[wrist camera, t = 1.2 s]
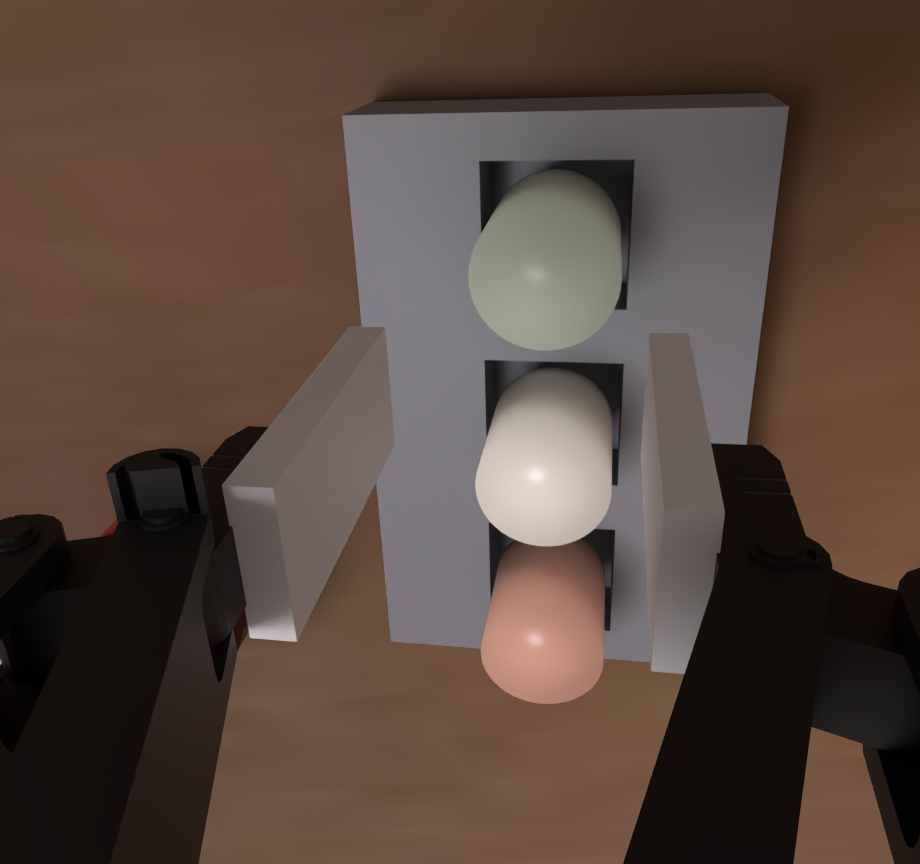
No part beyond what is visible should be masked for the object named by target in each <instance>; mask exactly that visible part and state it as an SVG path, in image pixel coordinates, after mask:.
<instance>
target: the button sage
mask: <svg viewBox="0 0 920 864" xmlns="http://www.w3.org/2000/svg"><path fill="white" fill-rule="evenodd" d="M468 281H469V289H470V293H471V297H472V300H473V303H474V305H475V307H476V309H477V311H478V313H479V315H480V316H481V318H482V319H483V320H484V322H485V323H486V324H487V325H488V326H489V327H490V328H491V329H492V330H493V331H494V332H495V333H496V334H498V335H499V336H500V337H502V338H503V339H505V340H507V341H509V342H511V343H513V344H515V345H517V346H520V347H523V348H527V349H532V350H541V351H550V350H559V349H564V348H567V347H571V346H573V345H576V344H578V343H580V342H582V341H584V340H586V339H587V338H589V337H590V336H592V335H593V334H594V333H596V332H597V331H598V330H599V329H600V328H601V327H602V326H603V325H604V324H605V322H606V321H607V320H608V318H609V317H610V315H611V314H612V312H613V310H614V308H615V306H616V304H617V301H618V298H619V294H620V291H621V283H622V248H621V223H620V218H619V214H618V211H617V209H616V206H615V204H614V202H613V201H612V199H611V197H610V196H609V195H608V193H607V192H606V191H605V190H604V189H603V188H602V187H601V186H600V185H599V184H598V183H597V182H595V181H594V180H592V179H591V178H589V177H587V176H585V175H583V174H581V173H578V172H575V171H571V170H566V169H547V170H542V171H538V172H535V173H532V174H530V175H528V176H526V177H524V178H522V179H521V180H519V181H518V182H516V183H515V184H514V185H513V186H512V187H511V188H510V189H509V190H508V191H507V192H506V193H505V194H504V196H503V197H502V199H501V200H500V202H499V203H498V205H497V207H496V209H495V210H494V212H493V214H492V216H491V217H490V219H489V221H488V223H487V224H486V226H485V228H484V230H483V231H482V233H481V235H480V237H479V238H478V240H477V242H476V244H475V246H474V249H473V251H472V255H471V258H470V263H469V270H468Z"/></svg>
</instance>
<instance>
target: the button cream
mask: <svg viewBox="0 0 920 864" xmlns="http://www.w3.org/2000/svg"><path fill="white" fill-rule="evenodd" d="M612 426H613V423H612V412H611V408H610V405H609V403H608V401H607V399H606V397H605V395H604V394H603V392H602V391H601V390H600V389H599V387H598V386H597V385H596V384H594V383H593V382H592V381H591V380H590V379H588V378H587V377H585V376H583V375H581V374H579V373H577V372H574V371H571V370H568V369H563V368H554V367H552V368H541V369H536V370H532V371H529V372H527V373H525V374H523V375H521V376H519V377H518V378H516V379H515V380H514V381H512V382H511V383H510V384H509V385H508V386H507V387H506V388H505V390H504V391H503V393H502V394H501V396H500V398H499V400H498V403H497V405H496V409H495V412H494V415H493V419H492V422H491V426H490V429H489V432H488V436H487V439H486V442H485V446H484V449H483V453H482V456H481V459H480V463H479V466H478V469H477V474H476V480H475V489H476V495H477V499H478V502H479V505H480V507H481V509H482V511H483V513H484V514H485V516H486V517H487V519H488V520H489V521H490V522H491V523H492V524H493V525H494V526H495V527H496V528H497V529H498V530H500V531H501V532H502V533H504V534H505V535H507V536H509V537H510V538H513V539H515V540H517V541H520V542H523V543H526V544H530V545H535V546H559V545H564V544H568V543H571V542H574V541H576V540H578V539H580V538H582V537H584V536H586V535H587V534H589V533H590V532H591V531H592V530H594V529H595V528H596V527H597V526H598V525H599V523H600V522H601V521H602V519H603V518H604V516H605V515H606V512H607V510H608V508H609V505H610V501H611V493H612Z"/></svg>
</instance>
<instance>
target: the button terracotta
mask: <svg viewBox="0 0 920 864" xmlns="http://www.w3.org/2000/svg"><path fill="white" fill-rule="evenodd" d="M604 612H605V570H604V566H603V563H602V561H601V559H600V557H599V555H598V554H597V553H596V551H595V550H594V549H593V548H592V547H591V546H590V545H589V544H588V543H586V542H585V541H584V540H582V539H578V540H576V541H574V542H571V543H568V544H564V545H559V546H535V545H530V544H526V543H523V542H520V541H517V540H514V541H512V542H511V543H510V544H509V545H508V546H507V547H506V549H505V550H504V552H503V553H502V555H501V557H500V560H499V564H498V569H497V573H496V578H495V583H494V588H493V593H492V597H491V602H490V607H489V612H488V616H487V621H486V626H485V631H484V635H483V640H482V645H481V658H482V662H483V665H484V668H485V670H486V672H487V673H488V675H489V676H490V678H491V679H492V680H493V681H494V682H495V683H496V684H497V685H498V686H499V687H500V688H502V689H503V690H504V691H506V692H507V693H509V694H511V695H513V696H515V697H517V698H519V699H522V700H525V701H529V702H533V703H541V704H556V703H562V702H567V701H570V700H573V699H575V698H578V697H580V696H581V695H583V694H585V693H586V692H587V691H589V690H590V689H591V688H592V687H593V686H594V685H595V683H596V682H597V681H598V679H599V677H600V675H601V672H602V669H603V656H604Z"/></svg>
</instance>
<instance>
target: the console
mask: <svg viewBox="0 0 920 864" xmlns="http://www.w3.org/2000/svg"><path fill="white" fill-rule="evenodd" d="M788 111H789V106H788V105H786V104H785V103H783V102H782V101H780V100H779V99H777V98H776V97H774V96H773V95H771V94H770V93H741V94H697V95H652V96H608V97H563V98H519V99H474V100H430V101H385V102H371V103H369V104H367V105H364V106H362V107H360V108H358V109H355V110H353V111H351V112H349V113H346V114H344V115H342V119H343V129H344V140H345V151H346V162H347V172H348V183H349V194H350V205H351V216H352V226H353V237H354V248H355V259H356V269H357V280H358V291H359V302H360V312H361V323H362V327H385V329H386V342H387V354H388V367H389V379H390V392H391V404H392V417H393V429H394V442H395V445H394V447H393V449H392V451H391V453H390V455H389V457H388V459H387V461H386V463H385V465H384V467H383V469H382V471H381V473H380V475H379V477H378V479H377V481H376V485H377V495H378V506H379V517H380V528H381V538H382V549H383V560H384V571H385V581H386V592H387V603H388V614H389V624H390V635H391V641H394V642H407V643H419V644H431V645H444V646H456V647H468V648H481V645H482V640H483V635H484V631H485V626H486V621H487V616H488V612H489V607H490V602H491V597H492V593H493V588H494V583H495V578H496V573H497V569H498V564H499V560H500V557H501V555H502V553H503V552H504V550H505V549H506V547H507V546H508V545H509V544H510V543H511V542H512V541H514V540H515V539H513V538H510V537H509V536H507V535H505V534H504V533H502V532H501V531H500V530H498V529H497V528H496V527H495V526H494V525H493V524H492V523H491V522H490V521H489V520H488V519H487V517H486V516H485V514H484V513H483V511H482V509H481V507H480V505H479V502H478V499H477V495H476V489H475V480H476V474H477V469H478V466H479V463H480V459H481V456H482V453H483V449H484V446H485V442H486V439H487V436H488V432H489V429H490V426H491V422H492V419H493V415H494V412H495V409H496V405H497V403H498V400H499V398H500V396H501V394H502V393H503V391H504V390H505V388H506V387H507V386H508V385H509V384H510V383H511V382H512V381H514V380H515V379H516V378H518V377H519V376H521V375H523V374H525V373H527V372H529V371H532V370H536V369H541V368H552V367H554V368H563V369H568V370H571V371H574V372H577V373H579V374H581V375H583V376H585V377H587V378H588V379H590V380H591V381H592V382H593V383H594V384H596V385H597V386H598V387H599V389H600V390H601V391H602V392H603V394H604V395H605V397H606V399H607V401H608V403H609V405H610V408H611V412H612V423H613V426H612V493H611V501H610V505H609V508H608V510H607V512H606V515H605V516H604V518H603V519H602V521H601V522H600V523H599V525H598V526H597V527H596V528H595V529H594V530H592V531H591V532H590V533H589V534H587V535H586V536H584V537H582V538H580V539H582V540H584V541H585V542H586V543H588V544H589V545H590V546H591V547H592V548H593V549H594V550H595V551H596V553H597V554H598V555H599V557H600V559H601V561H602V563H603V566H604V570H605V612H604V656H603V658H604V659H616V660H629V661H641V662H651V659H650V638H649V617H648V596H647V575H646V555H645V534H644V513H643V492H642V471H641V443H642V428H643V413H644V397H645V382H646V366H647V351H648V335H649V333H688V334H689V339H690V344H691V349H692V353H693V358H694V363H695V368H696V373H697V378H698V383H699V388H700V392H701V397H702V402H703V407H704V412H705V417H706V422H707V427H708V432H709V436H710V441H711V443H718V444H742V445H746V444H747V436H748V428H749V420H750V412H751V405H752V397H753V389H754V381H755V373H756V365H757V357H758V349H759V341H760V333H761V325H762V317H763V309H764V301H765V293H766V285H767V278H768V270H769V262H770V254H771V246H772V238H773V230H774V222H775V214H776V206H777V198H778V190H779V182H780V174H781V166H782V158H783V151H784V143H785V135H786V127H787V119H788ZM547 169H566V170H571V171H575V172H578V173H581V174H583V175H585V176H587V177H589V178H591V179H592V180H594V181H595V182H597V183H598V184H599V185H600V186H601V187H602V188H603V189H604V190H605V191H606V192H607V193H608V195H609V196H610V197H611V199H612V201H613V202H614V204H615V206H616V209H617V211H618V214H619V218H620V223H621V248H622V283H621V291H620V294H619V298H618V301H617V304H616V306H615V308H614V310H613V312H612V314H611V315H610V317H609V318H608V320H607V321H606V322H605V324H604V325H603V326H602V327H601V328H600V329H599V330H598V331H597V332H596V333H594V334H593V335H592V336H590V337H589V338H587V339H586V340H584V341H582V342H580V343H578V344H576V345H573V346H571V347H567V348H564V349H559V350H550V351H541V350H532V349H527V348H523V347H520V346H517V345H515V344H513V343H511V342H509V341H507V340H505V339H503V338H502V337H500V336H499V335H498V334H496V333H495V332H494V331H493V330H492V329H491V328H490V327H489V326H488V325H487V324H486V323H485V322H484V320H483V319H482V318H481V316H480V315H479V313H478V311H477V309H476V307H475V305H474V303H473V300H472V297H471V293H470V289H469V281H468V270H469V263H470V258H471V255H472V251H473V249H474V246H475V244H476V242H477V240H478V238H479V237H480V235H481V233H482V231H483V230H484V228H485V226H486V224H487V223H488V221H489V219H490V217H491V216H492V214H493V212H494V210H495V209H496V207H497V205H498V203H499V202H500V200H501V199H502V197H503V196H504V194H505V193H506V192H507V191H508V190H509V189H510V188H511V187H512V186H513V185H514V184H515V183H516V182H518V181H519V180H521V179H522V178H524V177H526V176H528V175H530V174H532V173H535V172H538V171H542V170H547Z"/></svg>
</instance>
